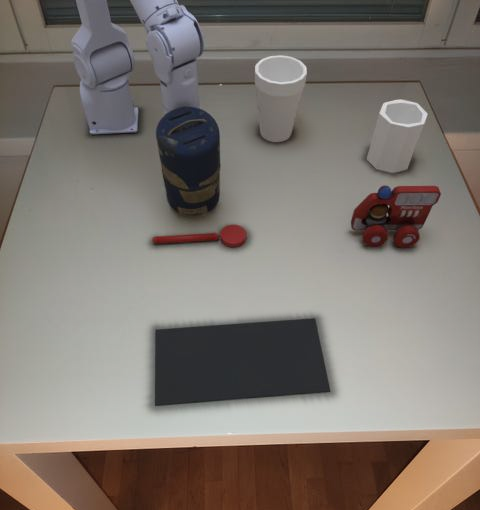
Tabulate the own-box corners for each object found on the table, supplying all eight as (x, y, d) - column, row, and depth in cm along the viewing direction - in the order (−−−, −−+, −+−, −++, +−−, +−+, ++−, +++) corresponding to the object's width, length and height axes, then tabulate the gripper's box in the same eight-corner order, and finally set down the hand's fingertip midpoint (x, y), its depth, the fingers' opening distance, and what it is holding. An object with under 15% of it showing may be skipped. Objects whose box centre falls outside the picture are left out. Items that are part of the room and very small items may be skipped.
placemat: (155, 405, 64) (154, 404, 64) (155, 330, 70) (155, 329, 70) (330, 391, 65) (330, 390, 65) (314, 319, 72) (315, 318, 72)
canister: (224, 216, 84) (226, 143, 67) (171, 225, 82) (160, 153, 66) (213, 173, 87) (213, 93, 70) (162, 181, 86) (149, 101, 69)
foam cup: (247, 142, 95) (249, 79, 84) (258, 115, 100) (261, 52, 89) (294, 150, 93) (301, 87, 83) (302, 122, 98) (311, 59, 87)
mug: (414, 173, 90) (432, 127, 82) (369, 172, 90) (382, 126, 82) (403, 133, 97) (418, 87, 88) (361, 133, 97) (372, 87, 88)
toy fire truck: (346, 217, 84) (359, 169, 75) (416, 219, 83) (437, 171, 75) (350, 247, 80) (364, 200, 71) (423, 249, 80) (447, 202, 71)
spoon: (152, 252, 79) (151, 247, 78) (153, 233, 81) (152, 228, 80) (247, 246, 80) (247, 241, 79) (244, 227, 82) (244, 222, 81)
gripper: (209, 129, 71) (213, 199, 82) (204, 75, 79) (208, 145, 90) (161, 132, 70) (172, 201, 82) (161, 77, 78) (171, 147, 90)
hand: (188, 172), depth 86 cm, fingers closed, pressing on canister
